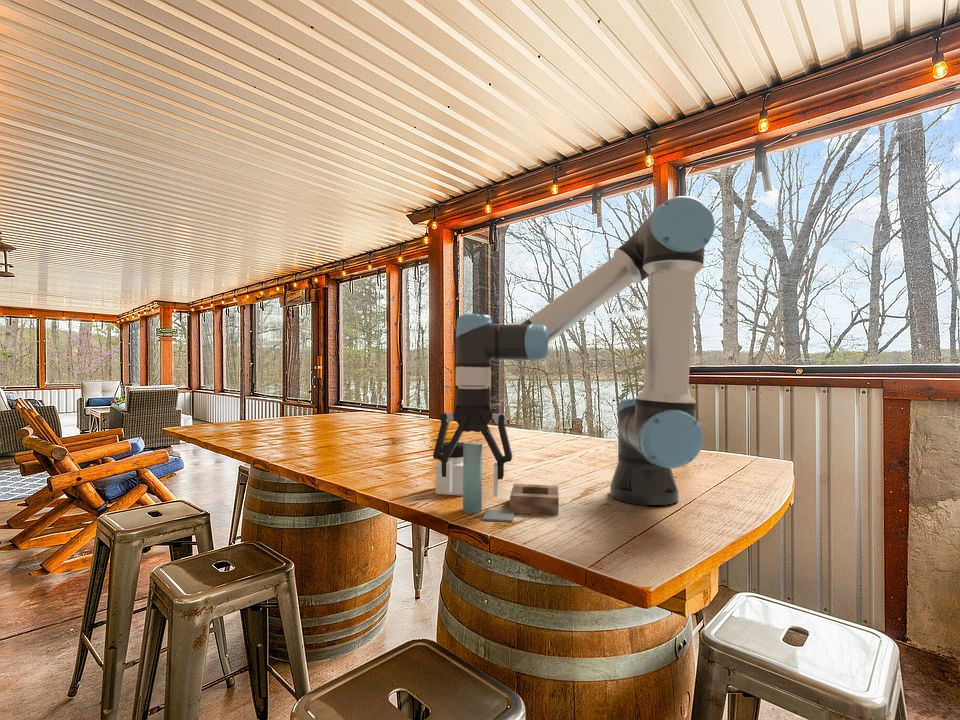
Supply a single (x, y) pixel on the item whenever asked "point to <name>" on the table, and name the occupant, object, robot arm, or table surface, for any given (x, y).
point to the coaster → (498, 515)
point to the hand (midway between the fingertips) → (472, 493)
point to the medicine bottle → (456, 471)
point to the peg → (472, 477)
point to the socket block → (534, 499)
